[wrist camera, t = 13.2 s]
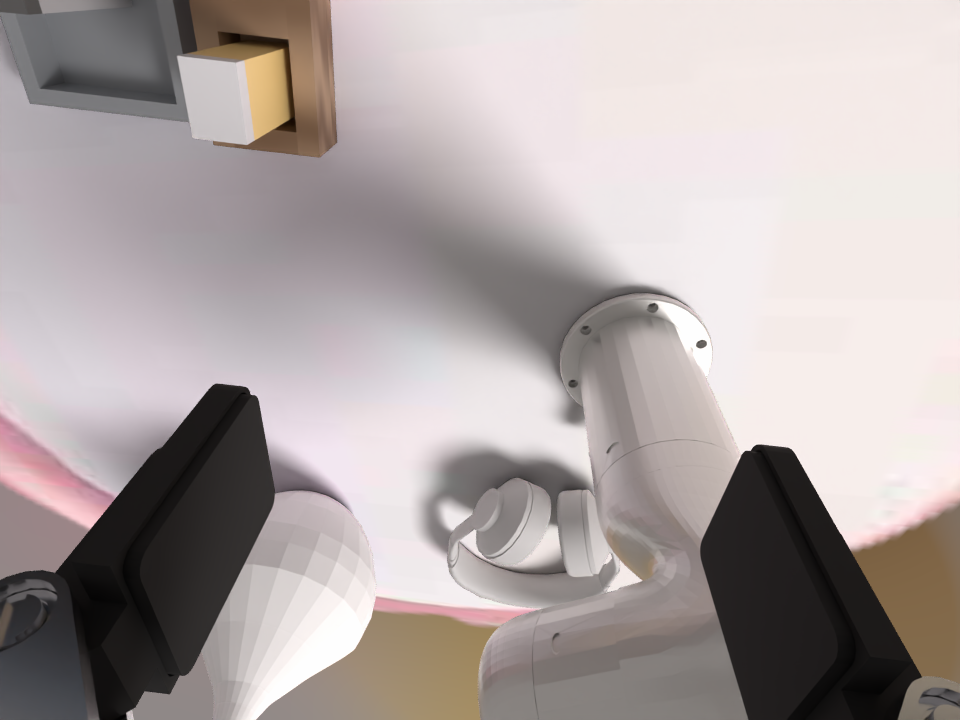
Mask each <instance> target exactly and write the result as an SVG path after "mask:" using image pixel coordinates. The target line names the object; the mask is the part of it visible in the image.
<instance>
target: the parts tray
mask: <svg viewBox="0 0 960 720" xmlns="http://www.w3.org/2000/svg"><path fill="white" fill-rule="evenodd" d="M131 1H132V5H133V7H125V8H111V9H98V10H85V11H72V12H59V13H46V14H32V15H25V14H15V13H4V12H0V16H1V19H2V22H3V25H4V28H5V31H6V34H7V37H8V40H9V43H10V46H11V49H12V52H13V55H14V58H15V61H16V64H17V67H18V70H19V73H20V76H21V79H22V82H23V84H24V87H25V90H26V93H27V96H28V99H29V102H30V104H39V105H47V106H56V107H64V108H73V109H81V110H90V111H98V112H107V113H116V114H124V115H133V116H141V117H150V118H158V119H167V120H175V121H184V122H189V117H188V111H187V106H186V101H185V95H184V90H183V85H182V80H181V74H180V69H179V64H178V59H177V56H178V55H183V54H187V53H192V52H196V51H198V50H197V44H196V39H195V33H194V27H193V21H192V15H191V9H190V3H189V0H131Z"/></svg>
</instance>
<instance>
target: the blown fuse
mask: <svg viewBox="0 0 960 720" xmlns="http://www.w3.org/2000/svg"><path fill="white" fill-rule="evenodd" d="M125 7H133V5H132V1H131V0H0V12H4V13H15V14H25V15H32V14H46V13H59V12H72V11H85V10H98V9H111V8H125Z"/></svg>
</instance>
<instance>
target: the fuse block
mask: <svg viewBox="0 0 960 720" xmlns="http://www.w3.org/2000/svg"><path fill="white" fill-rule="evenodd" d="M189 3H190V9H191V15H192V21H193V27H194V33H195V39H196V44H197V50H198V51H201V50H205V49H210V48H214V47H218V46H223V45H227V44H232V43H236V42H241V41H245V40H249V39H251V40H259V41H268V42H276V43H285V44H289V51H290V63H291V74H292V85H293V97H294V108H295V117H293V118H291V119H290V120H288V121H286V122H285V123H283V124H281V125H280V126H278V127H276V128H275V129H273V130H271V131H270V132H268V133H266V134H265V135H263V136H261V137H260V138H258V139H256V140H255V141H253V142H251V143H250V144H248V145H243V144H235V143H226V142H218V141H213V144H214V145H218V146H226V147H235V148H243V149H252V150H260V151H269V152H277V153H286V154H294V155H303V156H311V157H321V156H322V155H323V154H324V153H326V152H327V151H328V150H329V149H330V148H331V147H332V146H334V145H335V144H336V143H337V132H336V112H335V91H334V71H333V50H332V30H331V9H330V0H189Z"/></svg>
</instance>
